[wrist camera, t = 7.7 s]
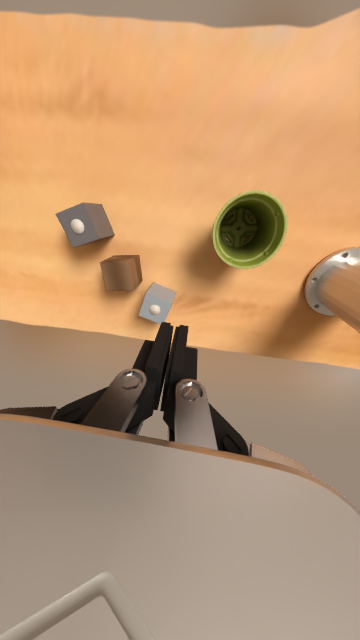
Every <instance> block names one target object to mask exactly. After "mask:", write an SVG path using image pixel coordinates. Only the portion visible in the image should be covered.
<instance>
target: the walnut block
mask: <svg viewBox="0 0 360 640" xmlns="http://www.w3.org/2000/svg"><path fill="white" fill-rule="evenodd" d="M100 265H101V269H102V274H103V278H104V282H105V287H106V291H134V290H135V289H136V288H137V286H138V285H139V284H140V283H141V282H142V281H143V280H142V273H141V265H140V257H139V255H121V256H112V257H110V258H108V259H106V260H104V261H102V262H100Z"/></svg>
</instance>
